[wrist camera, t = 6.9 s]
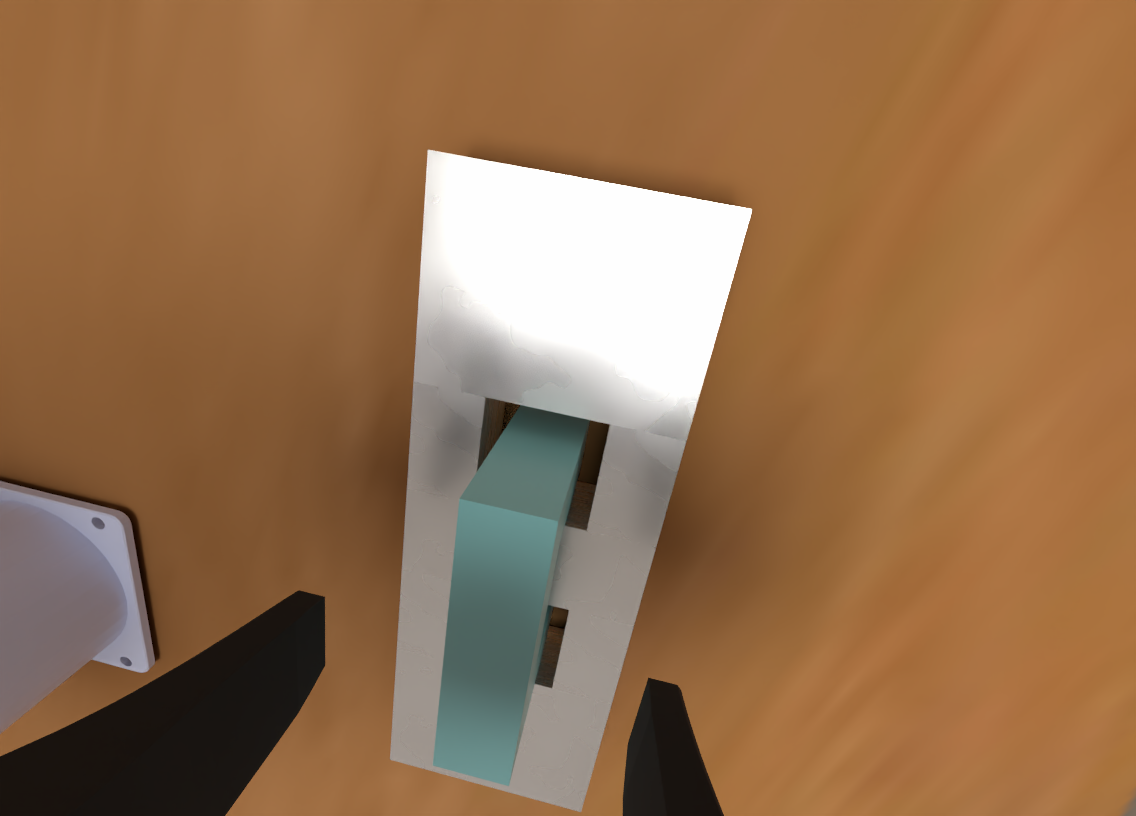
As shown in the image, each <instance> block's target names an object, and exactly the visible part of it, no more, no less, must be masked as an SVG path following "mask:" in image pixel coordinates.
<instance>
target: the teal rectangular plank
mask: <svg viewBox="0 0 1136 816" xmlns="http://www.w3.org/2000/svg"><path fill="white" fill-rule="evenodd" d="M589 424H590V420H587V419H583V418H578V417H574V416H569V415H564V414H560V413H555V412H551V411H546V410H542V409H537V408H532V407H528V406H523V405H520V407H519V408H518V410H517V411H516V413H515V414H514V416H513V417H512V419H511V421H510V422H509V424H508V425H507V427H506V428H505V430H504V431H503V433H502V434H501V436H500V437H499V439H498V440H497V442H496V443H495V445H494V447H493V448H492V450H491V451H490V453H489V454H488V456H487V457H486V459H485V460H484V462H483V463H482V465H481V466H480V468H479V469H478V471H477V473H476V474H475V476H474V477H473V479H472V480H471V482H470V483H469V485H468V486H467V488H466V489H465V491H464V492H463V494H462V495H461V497H460V499H459V508H458V518H457V528H456V538H455V548H454V558H453V568H452V578H451V588H450V598H449V608H448V618H447V627H446V637H445V647H444V657H443V667H442V677H441V687H440V697H439V707H438V717H437V727H436V737H435V747H434V757H433V766H436V767H440V768H444V769H447V770H451V771H455V772H458V773H462V774H466V775H469V776H473V777H477V778H480V779H484V780H488V781H491V782H495V783H499V784H502V785H506V786H509V784H510V780H511V776H512V772H513V768H514V764H515V760H516V756H517V752H518V748H519V744H520V740H521V736H522V732H523V728H524V724H525V720H526V716H527V712H528V708H529V704H530V700H531V696H532V692H533V689H534V685H535V681H536V677H537V673H538V669H539V665H540V661H541V657H542V653H543V649H544V645H545V641H546V637H547V633H548V629H549V625H550V621H551V617H552V612H553V607H554V606H551V605H548V602H549V597H550V591H551V586H552V581H553V576H554V570H555V565H556V560H557V555H558V550H559V544H560V541H561V537H562V534H563V530H564V526H565V523H566V519H567V516H568V512H569V509H570V505H571V501H572V498H573V494H574V491H575V487H576V484H577V480H578V476H579V473H580V469H581V465H582V460H583V455H584V450H585V445H586V440H587V435H588V429H589Z"/></svg>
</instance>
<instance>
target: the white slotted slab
mask: <svg viewBox="0 0 1136 816" xmlns="http://www.w3.org/2000/svg"><path fill="white" fill-rule="evenodd" d="M751 212H752V209H748V208H742V207H737V206H732V205H726V204H721V203H715V202H710V201H704V200H699V199H693V198H688V197H683V196H677V195H672V194H666V193H661V192H655V191H650V190H644V189H639V188H633V187H628V186H623V185H617V184H612V183H606V182H601V181H595V180H590V179H584V178H579V177H574V176H568V175H563V174H557V173H552V172H546V171H541V170H535V169H530V168H525V167H519V166H514V165H508V164H503V163H497V162H492V161H486V160H481V159H476V158H470V157H465V156H459V155H454V154H448V153H443V152H437V151H432V150H428V158H427V174H426V190H425V206H424V222H423V238H422V254H421V270H420V287H419V303H418V319H417V335H416V351H415V367H414V383H413V399H412V415H411V431H410V447H409V463H408V479H407V496H406V512H405V528H404V544H403V560H402V576H401V592H400V608H399V624H398V640H397V656H396V672H395V689H394V705H393V721H392V737H391V753H390V760H394V761H397V762H401V763H405V764H408V765H412V766H415V767H419V768H423V769H426V770H430V771H434V772H437V773H441V774H444V775H448V776H452V777H455V778H459V779H463V780H466V781H470V782H473V783H477V784H481V785H484V786H488V787H492V788H495V789H499V790H503V791H506V792H510V793H513V794H517V795H521V796H524V797H528V798H532V799H535V800H539V801H542V802H546V803H550V804H553V805H557V806H561V807H564V808H568V809H572V810H575V811H579V812H581V810H582V806H583V803H584V799H585V796H586V792H587V789H588V785H589V782H590V778H591V775H592V771H593V768H594V764H595V761H596V757H597V754H598V750H599V747H600V743H601V740H602V736H603V733H604V729H605V726H606V722H607V719H608V715H609V711H610V708H611V704H612V701H613V697H614V694H615V690H616V687H617V683H618V680H619V676H620V673H621V669H622V666H623V662H624V659H625V655H626V652H627V648H628V645H629V641H630V638H631V634H632V631H633V627H634V624H635V620H636V616H637V613H638V609H639V606H640V602H641V599H642V595H643V592H644V588H645V585H646V581H647V578H648V574H649V571H650V567H651V564H652V560H653V557H654V553H655V550H656V546H657V543H658V539H659V536H660V532H661V529H662V525H663V521H664V518H665V514H666V511H667V507H668V504H669V500H670V497H671V493H672V490H673V486H674V483H675V479H676V476H677V472H678V469H679V465H680V462H681V458H682V455H683V451H684V448H685V444H686V441H687V437H688V434H689V430H690V426H691V423H692V419H693V416H694V412H695V409H696V405H697V402H698V398H699V395H700V391H701V388H702V384H703V381H704V377H705V374H706V370H707V367H708V363H709V360H710V356H711V353H712V349H713V346H714V342H715V339H716V335H717V331H718V328H719V324H720V321H721V317H722V314H723V310H724V307H725V303H726V300H727V296H728V293H729V289H730V286H731V282H732V279H733V275H734V272H735V268H736V265H737V261H738V258H739V254H740V251H741V247H742V244H743V240H744V236H745V233H746V229H747V226H748V222H749V219H750V215H751ZM506 402H509V403H514V404H519V405H523V406H528V407H532V408H537V409H542V410H546V411H551V412H555V413H560V414H564V415H569V416H574V417H578V418H583V419H587V420H592V421H596V422H601V423H606V424H610V425H609V429H608V434H607V438H606V443H605V448H604V452H603V457H602V461H601V466H600V470H599V475H598V479H597V484H596V485H593V484H589V483H585V482H580V481H577V484H576V487H575V491H574V494H573V498H572V501H571V505H570V509H569V512H568V516H567V519H566V523H565V526H564V530H563V534H562V537H561V541H560V544H559V550H558V555H557V560H556V565H555V570H554V576H553V581H552V586H551V591H550V597H549V602H548V605H551V606H555V607H559V608H563V609H567V610H569V611H568V616H567V621H566V625H565V629H561V628H557V627H553V626H549V629H548V633H547V637H546V641H545V645H544V649H543V653H542V657H541V661H540V665H539V669H538V673H537V677H536V681H535V685H534V689H533V692H532V696H531V700H530V704H529V708H528V712H527V716H526V720H525V724H524V728H523V732H522V736H521V740H520V744H519V748H518V752H517V756H516V760H515V764H514V768H513V772H512V776H511V780H510V784H509V786H506V785H502V784H499V783H495V782H491V781H488V780H484V779H480V778H477V777H473V776H469V775H466V774H462V773H458V772H455V771H451V770H447V769H444V768H440V767H436V766H433V757H434V747H435V737H436V727H437V717H438V707H439V697H440V687H441V677H442V667H443V657H444V647H445V637H446V627H447V618H448V608H449V598H450V588H451V578H452V568H453V558H454V548H455V538H456V528H457V518H458V508H459V499H460V497H461V495H462V494H463V492H464V491H465V489H466V488H467V486H468V485H469V483H470V482H471V480H472V479H473V477H474V476H475V474H476V473H477V471H478V469H479V468H480V466H481V465H482V463H483V462H484V460H485V459H486V457H487V456H488V454H489V453H490V451H491V450H492V448H493V447H494V445H495V443H496V442H497V440H498V439H499V437H500V436H501V433H502V426H503V418H504V411H505V403H506Z"/></svg>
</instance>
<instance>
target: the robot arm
mask: <svg viewBox="0 0 1136 816" xmlns="http://www.w3.org/2000/svg"><path fill="white" fill-rule="evenodd" d="M91 659H92V660H95V661H99V662H103V663H106V664H110V665H114V666H117V667H121V668H125V669H128V670H132V671H136V672H141V673H144V672H147V671H148V670H149V669H150V668H151V667H152V666H153V665H154V664H155V657H154V652H153V646H152V640H151V634H150V629H149V623H148V617H147V611H146V605H145V600H144V594H143V588H142V582H141V577H140V571H139V565H138V559H137V553H136V548H135V542H134V536H133V530H132V524H131V521H130V519H129V518H128V516H127V515H126V514H124V513H123V512H121V511H119V510H115V509H111V508H107V507H103V506H99V505H95V504H91V503H87V502H83V501H78V500H74V499H70V498H66V497H62V496H58V495H54V494H50V493H46V492H42V491H38V490H34V489H30V488H26V487H22V486H18V485H14V484H10V483H6V482H2V481H0V734H1V733H2V732H3V731H5V730H6V729H7V728H8V727H9V726H11V725H12V724H13V723H14V722H16V721H17V720H18V719H19V718H20V717H22V716H23V715H24V714H25V713H26V712H28V711H29V710H30V709H31V708H33V707H34V706H35V705H36V704H37V703H39V702H40V701H41V700H42V699H44V698H45V697H46V696H47V695H48V694H50V693H51V692H52V691H53V690H55V689H56V688H57V687H58V686H59V685H61V684H62V683H63V682H64V681H66V680H67V679H68V678H69V677H70V676H72V675H73V674H74V673H75V672H77V671H78V670H79V669H80V668H81V667H83V666H84V665H85V664H86V663H88V662H89V661H90V660H91ZM324 666H325V597H323V596H319V595H315V594H311V593H307V592H303V591H297V592H295V593H294V594H292V595H291V596H289V597H287V598H286V599H284V600H283V601H281V602H280V603H278V604H276V605H275V606H273V607H272V608H270V609H269V610H267V611H266V612H264V613H263V614H261V615H259V616H258V617H256V618H255V619H253V620H252V621H250V622H249V623H247V624H246V625H244V626H242V627H241V628H239V629H238V630H236V631H235V632H233V633H232V634H230V635H228V636H227V637H225V638H224V639H222V640H220V641H219V642H217V643H216V644H214V645H212V646H211V647H209V648H208V649H206V650H204V651H203V652H201V653H200V654H198V655H196V656H195V657H193V658H191V659H190V660H188V661H186V662H185V663H183V664H181V665H180V666H178V667H176V668H174V669H173V670H171V671H169V672H168V673H166V674H164V675H162V676H161V677H159V678H157V679H155V680H154V681H152V682H150V683H148V684H147V685H145V686H143V687H142V688H140V689H138V690H136V691H134V692H133V693H131V694H129V695H127V696H125V697H123V698H121V699H120V700H118V701H116V702H114V703H112V704H110V705H108V706H106V707H104V708H103V709H101V710H99V711H97V712H95V713H93V714H91V715H89V716H87V717H85V718H83V719H81V720H79V721H77V722H75V723H73V724H71V725H69V726H67V727H65V728H62V729H60V730H58V731H56V732H54V733H52V734H50V735H47V736H45V737H43V738H41V739H38V740H36V741H34V742H32V743H29V744H27V745H25V746H23V747H21V748H18V749H16V750H14V751H12V752H9V753H7V754H5V755H3V756H0V816H225V815H226V814H227V812H228V811H229V810H230V808H231V807H232V805H233V804H234V803H235V801H236V800H237V798H238V797H239V796H240V794H241V793H242V791H243V790H244V789H245V787H246V786H247V784H248V783H249V782H250V780H251V779H252V777H253V776H254V775H255V773H256V772H257V770H258V769H259V768H260V766H261V765H262V763H263V762H264V761H265V759H266V758H267V757H268V755H269V754H270V752H271V751H272V750H273V748H274V747H275V745H276V744H277V742H278V741H279V740H280V738H281V737H282V735H283V734H284V733H285V731H286V730H287V728H288V727H289V725H290V724H291V723H292V721H293V720H294V718H295V717H296V715H297V714H298V713H299V711H300V709H301V707H302V706H303V704H304V702H305V700H306V699H307V697H308V695H309V694H310V692H311V690H312V688H313V686H314V685H315V683H316V681H317V679H318V677H319V675H320V674H321V672H322V670H323V668H324ZM623 816H724V815H723V812H722V810H721V807H720V805H719V802H718V799H717V797H716V794H715V792H714V789H713V786H712V784H711V781H710V779H709V776H708V773H707V771H706V768H705V765H704V762H703V760H702V757H701V754H700V751H699V748H698V745H697V742H696V739H695V736H694V733H693V730H692V727H691V724H690V720H689V717H688V714H687V710H686V707H685V703H684V700H683V696H682V692H681V690H680V688H679V687H678V685H675V684H671V683H667V682H663V681H659V680H655V679H651V678H648V681H647V684H646V688H645V691H644V694H643V697H642V700H641V704H640V707H639V710H638V713H637V716H636V720H635V723H634V726H633V729H632V732H631V736H630V739H629V742H628V748H627V759H626V769H625V781H624V792H623Z"/></svg>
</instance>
